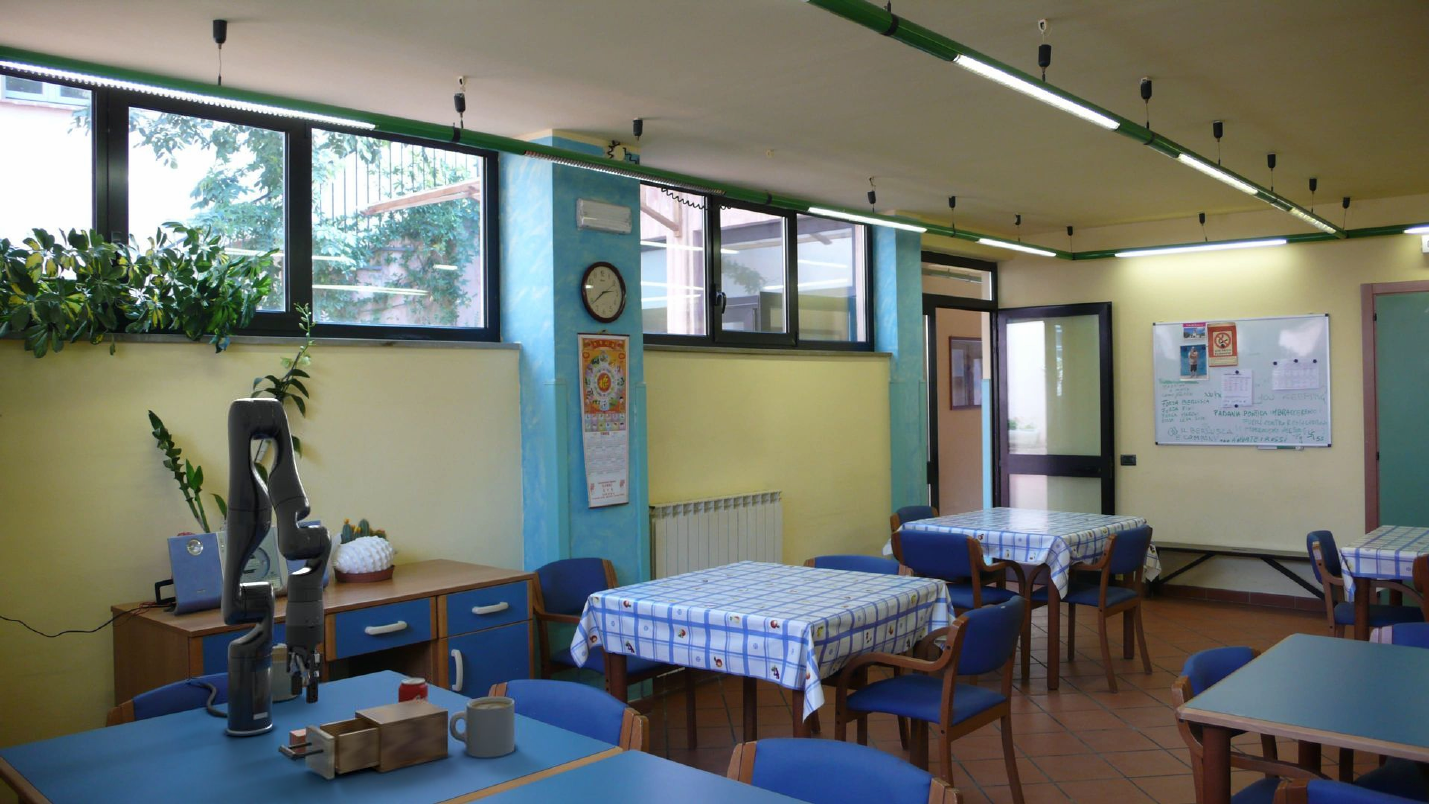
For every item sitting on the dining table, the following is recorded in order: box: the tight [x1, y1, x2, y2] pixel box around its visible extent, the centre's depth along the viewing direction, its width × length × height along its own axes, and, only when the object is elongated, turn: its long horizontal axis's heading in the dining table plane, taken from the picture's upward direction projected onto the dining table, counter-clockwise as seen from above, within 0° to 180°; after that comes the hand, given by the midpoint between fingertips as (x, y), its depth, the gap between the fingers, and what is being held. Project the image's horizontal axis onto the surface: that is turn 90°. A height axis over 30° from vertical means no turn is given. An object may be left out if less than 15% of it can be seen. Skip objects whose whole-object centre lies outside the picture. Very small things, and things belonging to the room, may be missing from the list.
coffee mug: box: [448, 696, 515, 758], centre depth 222 cm, size 13×10×10 cm
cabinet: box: [354, 699, 449, 773], centre depth 217 cm, size 15×13×10 cm
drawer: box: [277, 717, 380, 780], centre depth 207 cm, size 20×11×8 cm, turn 132°
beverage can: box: [397, 677, 429, 703], centre depth 232 cm, size 6×6×12 cm
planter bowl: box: [272, 646, 306, 702], centre depth 263 cm, size 16×16×11 cm
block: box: [288, 728, 306, 754], centre depth 219 cm, size 4×4×4 cm
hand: (304, 698), depth 219 cm, fingers open, 8 cm apart
